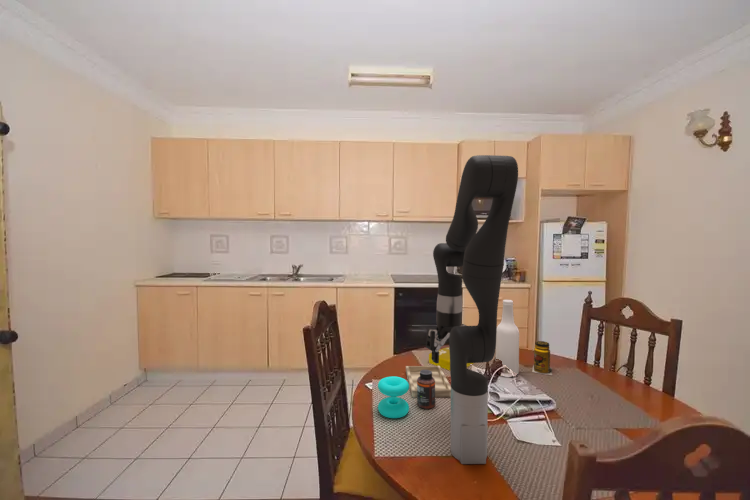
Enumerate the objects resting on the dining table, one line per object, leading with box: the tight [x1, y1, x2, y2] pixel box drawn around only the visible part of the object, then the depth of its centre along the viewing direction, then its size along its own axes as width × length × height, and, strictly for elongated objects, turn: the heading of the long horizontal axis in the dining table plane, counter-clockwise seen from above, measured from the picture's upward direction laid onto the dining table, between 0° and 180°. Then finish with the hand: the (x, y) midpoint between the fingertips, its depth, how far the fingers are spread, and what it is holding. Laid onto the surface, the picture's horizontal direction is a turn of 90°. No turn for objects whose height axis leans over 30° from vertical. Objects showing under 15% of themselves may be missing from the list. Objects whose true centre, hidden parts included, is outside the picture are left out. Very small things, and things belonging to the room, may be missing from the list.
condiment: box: [531, 340, 553, 376], centre depth 143 cm, size 7×8×12 cm
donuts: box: [377, 375, 410, 419], centre depth 110 cm, size 10×10×10 cm
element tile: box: [428, 346, 474, 372], centre depth 151 cm, size 15×15×5 cm
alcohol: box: [495, 299, 520, 374], centre depth 139 cm, size 9×9×30 cm
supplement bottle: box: [416, 370, 436, 410], centre depth 114 cm, size 6×6×11 cm
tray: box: [405, 365, 451, 399], centre depth 130 cm, size 22×14×3 cm, turn 1°
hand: (447, 360), depth 106 cm, fingers open, 8 cm apart
